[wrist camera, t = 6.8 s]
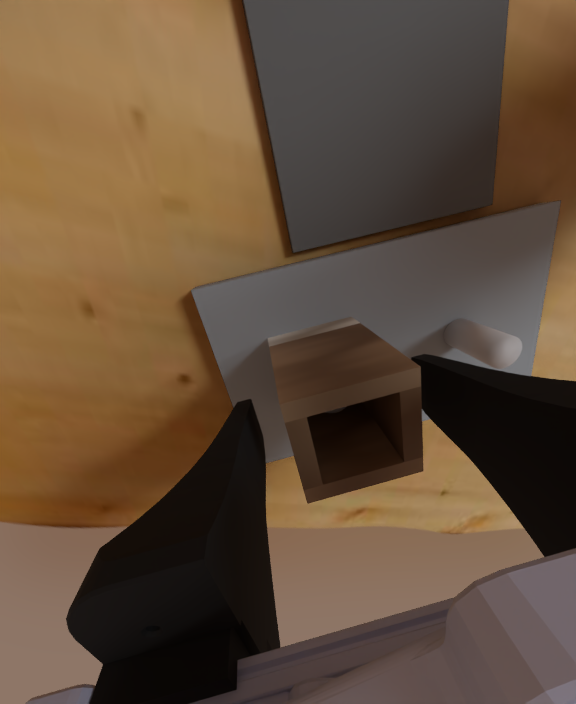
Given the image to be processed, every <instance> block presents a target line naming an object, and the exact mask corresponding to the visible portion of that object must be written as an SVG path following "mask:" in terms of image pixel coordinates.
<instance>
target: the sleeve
mask: <svg viewBox="0 0 576 704" xmlns="http://www.w3.org/2000/svg"><path fill="white" fill-rule="evenodd" d="M268 344H269V349H270V355H271V360H272V366H273V372H274V377H275V383H276V388H277V394H278V399H279V405H280V408H281V412H282V415H283V419H284V422H285V426H286V429H287V433H288V436H289V440H290V444H291V447H292V451H293V454H294V458H295V461H296V465H297V468H298V472H299V475H300V479H301V482H302V486H303V489H304V493H305V496H306V500H307V503H311V502H315V501H319V500H322V499H326V498H329V497H333V496H336V495H340V494H344V493H347V492H351V491H354V490H358V489H361V488H365V487H368V486H372V485H376V484H379V483H383V482H386V481H390V480H393V479H397V478H401V477H404V476H408V475H411V474H415V473H418V472H422V471H423V440H422V400H421V367H420V366H419V365H418V364H416V363H415V362H414V361H412V360H411V359H409V358H408V357H407V356H405V355H404V354H402V353H401V352H400V351H398V350H397V349H396V348H394V347H393V346H391V345H390V344H389V343H387V342H386V341H385V340H383V339H382V338H380V337H379V336H378V335H376V334H375V333H373V332H372V331H371V330H369V329H368V328H367V327H365V326H364V325H362V324H361V323H360V322H358V321H357V320H356V319H354V318H353V317H348V318H344V319H340V320H336V321H332V322H328V323H324V324H321V325H317V326H313V327H309V328H305V329H301V330H297V331H293V332H290V333H286V334H282V335H278V336H274V337H270V338H268ZM346 406H347V407H346ZM342 407H346V408H345V409H343V410H342V411H340V412H337V413H325V412H327V411H331V410H335V409H338V408H342Z"/></svg>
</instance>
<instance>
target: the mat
mask: <svg viewBox="0 0 576 704" xmlns="http://www.w3.org/2000/svg"><path fill="white" fill-rule="evenodd" d="M242 2H243V7H244V12H245V17H246V22H247V27H248V32H249V38H250V43H251V48H252V53H253V58H254V63H255V68H256V73H257V78H258V83H259V88H260V93H261V98H262V103H263V108H264V113H265V118H266V123H267V128H268V133H269V138H270V143H271V148H272V153H273V158H274V163H275V168H276V173H277V178H278V183H279V188H280V193H281V198H282V203H283V209H284V214H285V219H286V224H287V229H288V234H289V239H290V244H291V249H292V253H294V252H299V251H303V250H307V249H311V248H315V247H319V246H323V245H328V244H332V243H336V242H340V241H344V240H348V239H352V238H357V237H361V236H365V235H369V234H373V233H377V232H381V231H386V230H390V229H394V228H398V227H402V226H406V225H410V224H415V223H419V222H423V221H427V220H431V219H435V218H439V217H444V216H448V215H452V214H456V213H460V212H464V211H468V210H473V209H477V208H481V207H485V206H489V205H492V203H493V190H494V178H495V166H496V153H497V141H498V128H499V116H500V104H501V91H502V79H503V66H504V54H505V42H506V29H507V17H508V4H509V0H242Z"/></svg>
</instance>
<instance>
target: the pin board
mask: <svg viewBox="0 0 576 704" xmlns="http://www.w3.org/2000/svg"><path fill="white" fill-rule="evenodd" d="M560 204H561V200H560V201H553V202H546V203H539V204H535V205H531V206H527V207H523V208H519V209H515V210H511V211H506V212H502V213H498V214H494V215H490V216H486V217H482V218H478V219H473V220H469V221H465V222H461V223H457V224H453V225H449V226H445V227H441V228H436V229H432V230H428V231H424V232H420V233H416V234H412V235H408V236H403V237H399V238H395V239H391V240H387V241H383V242H379V243H375V244H371V245H366V246H362V247H358V248H354V249H350V250H346V251H342V252H338V253H333V254H329V255H325V256H321V257H317V258H313V259H309V260H305V261H301V262H296V263H292V264H288V265H284V266H280V267H276V268H272V269H268V270H263V271H259V272H255V273H251V274H247V275H243V276H239V277H235V278H231V279H226V280H222V281H218V282H214V283H210V284H206V285H202V286H198V287H195V288H193V289H192V290H191V292H192V295H193V298H194V300H195V303H196V306H197V309H198V311H199V314H200V317H201V320H202V322H203V325H204V328H205V331H206V333H207V336H208V339H209V342H210V344H211V347H212V350H213V353H214V355H215V358H216V361H217V364H218V366H219V369H220V372H221V375H222V377H223V380H224V383H225V386H226V389H227V391H228V394H229V397H230V400H231V402H232V405H233V408H234V407H235V405H236V403H237V402H240V401H243V400H247V399H251V400H252V403H253V406H254V409H255V412H256V415H257V418H258V421H259V424H260V427H261V430H262V434H263V439H264V446H265V455H266V463H269V462H272V461H276V460H280V459H283V458H287V457H291V456H294V454H293V451H292V447H291V444H290V440H289V436H288V433H287V429H286V426H285V422H284V419H283V415H282V412H281V408H280V405H279V399H278V394H277V388H276V383H275V377H274V372H273V366H272V360H271V355H270V349H269V344H268V338H270V337H274V336H278V335H282V334H286V333H290V332H293V331H297V330H301V329H305V328H309V327H313V326H317V325H321V324H324V323H328V322H332V321H336V320H340V319H344V318H348V317H353V318H354V319H356V320H357V321H358V322H360V323H361V324H362V325H364V326H365V327H367V328H368V329H369V330H371V331H372V332H373V333H375V334H376V335H378V336H379V337H380V338H382V339H383V340H385V341H386V342H387V343H389V344H390V345H391V346H393V347H394V348H396V349H397V350H398V351H400V352H401V353H402V354H404V355H405V356H407V357H408V358H409V359H411V357H414V356H418V355H422V354H429V355H434V356H439V357H443V358H447V359H451V360H455V361H459V362H463V363H468V364H472V365H476V366H480V367H485V368H489V369H494V370H499V371H504V372H509V373H514V374H520V375H527V376H531V373H532V367H533V361H534V356H535V350H536V344H537V338H538V332H539V326H540V321H541V315H542V309H543V303H544V297H545V291H546V285H547V280H548V274H549V268H550V262H551V256H552V250H553V245H554V239H555V233H556V227H557V221H558V215H559V210H560ZM346 407H347V406H346ZM346 407H342V408H338V409H335V410H331V411H327V412H325V413H337V412H340V411H342V410H343V409H345V408H346ZM428 419H430V418H429V417H428V416H427V415H426V414H425V412H424V411H423V410H422V421H424V420H428Z"/></svg>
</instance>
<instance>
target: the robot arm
mask: <svg viewBox="0 0 576 704" xmlns="http://www.w3.org/2000/svg"><path fill="white" fill-rule="evenodd" d="M411 360H412V361H414V362H415V363H416V364H418V365H419V366H420V367H421V400H422V410H423V411H424V412H425V414H426V415H427V416H428V417H429V418H430V419H431V420H432V421H433V422H434V423H435V424H436V425H437V426H438V427H439V428H440V429H441V430H442V431H443V432H444V433H445V434H446V435H447V436H448V437H449V438H450V439H451V440H452V441H453V442H454V443H455V444H456V445H457V446H458V447H459V448H460V449H461V450H462V451H463V452H464V453H465V454H466V455H467V456H468V457H469V459H470V460H471V461H472V462H473V463H474V464H475V465H476V466H477V468H478V469H479V470H480V471H481V473H482V474H483V475H484V476H485V477H486V479H487V480H488V481H489V482H490V484H491V485H492V486H493V487H494V489H495V490H496V491H497V492H498V494H499V495H500V496H501V498H502V499H503V500H504V502H505V503H506V504H507V505H508V507H509V508H510V509H511V511H512V512H513V513H514V515H515V516H516V517H517V519H518V520H519V522H520V523H521V524H522V526H523V527H524V528H525V530H526V531H527V533H528V534H529V535H530V537H531V538H532V539H533V541H534V542H535V544H536V545H537V547H538V548H539V549H540V551H541V552H542V554H543V555H544V558H540V559H537V560H533V561H530V562H526V563H523V564H519V565H516V566H512V567H509V568H505V569H502V570H499V571H497V572H495V573H492V574H490V575H488V576H485V577H483V578H481V579H479V580H476V581H474V582H473V583H472V584H470V585H469V586H468V587H467V588H466V589H464V590H463V591H462V592H461V593H459V594H458V595H457V596H456V597H454V598H451V599H447V600H444V601H441V602H437V603H434V604H430V605H427V606H423V607H420V608H416V609H413V610H410V611H406V612H402V613H399V614H396V615H392V616H389V617H385V618H382V619H378V620H375V621H371V622H368V623H364V624H361V625H357V626H354V627H350V628H347V629H343V630H340V631H337V632H333V633H330V634H326V635H323V636H319V637H316V638H313V639H309V640H305V641H302V642H298V643H295V644H292V645H288V646H285V647H281V648H280V640H279V632H278V624H277V617H276V608H275V600H274V591H273V582H272V574H271V564H270V554H269V545H268V534H267V523H266V455H265V446H264V439H263V434H262V430H261V427H260V424H259V421H258V418H257V415H256V412H255V409H254V406H253V403H252V400H251V399H247V400H243V401H240V402H237V403H236V405H235V407H234V408H233V410H232V412H231V413H230V415H229V417H228V419H227V420H226V422H225V424H224V425H223V427H222V428H221V430H220V432H219V433H218V435H217V436H216V438H215V439H214V441H213V442H212V443H211V445H210V446H209V448H208V449H207V450H206V452H205V453H204V454H203V456H202V457H201V458H200V459H199V460H198V462H197V463H196V464H195V465H194V466H193V467H192V469H191V470H190V471H189V472H188V473H187V474H186V475H185V476H184V477H183V478H182V479H181V480H180V481H179V482H178V483H177V484H176V485H175V486H174V487H173V488H172V489H171V490H170V491H169V492H168V493H167V494H166V495H165V496H164V497H163V498H162V499H161V500H160V501H159V502H157V503H156V504H155V505H154V506H153V507H152V508H151V509H149V510H148V511H147V512H146V513H145V514H144V515H142V516H141V517H140V518H139V519H138V520H136V521H135V522H134V523H133V524H131V525H130V526H129V527H127V528H126V529H125V530H123V531H122V532H121V533H120V534H118V535H117V536H116V537H114V538H113V539H112V540H110V541H109V542H108V543H107V544H105V545H104V546H102V547H101V548H100V549H99V551H98V553H97V555H96V557H95V559H94V561H93V563H92V565H91V567H90V569H89V571H88V573H87V575H86V577H85V579H84V581H83V583H82V585H81V587H80V589H79V591H78V593H77V595H76V597H75V599H74V601H73V603H72V605H71V607H70V609H69V612H68V615H67V618H66V620H67V625H68V629H69V632H70V633H71V635H72V636H73V637H74V638H75V640H76V641H77V642H79V643H80V644H81V645H82V646H83V647H84V648H85V649H86V650H88V651H89V652H90V653H91V654H92V655H93V656H94V657H96V658H97V659H98V660H99V661H100V662H102V664H103V667H102V669H101V672H100V675H99V678H98V681H97V684H96V686H94V685H89V684H82V685H76V686H73V687H69V688H65V689H62V690H58V691H55V692H51V693H48V694H44V695H41V696H37V697H34V698H31V699H30V700H29V701H28V702H26V704H576V381H566V380H556V379H548V378H540V377H533V376H527V375H520V374H514V373H509V372H504V371H499V370H494V369H489V368H485V367H480V366H476V365H472V364H468V363H463V362H459V361H455V360H451V359H447V358H443V357H439V356H434V355H429V354H422V355H418V356H414V357H411Z"/></svg>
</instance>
